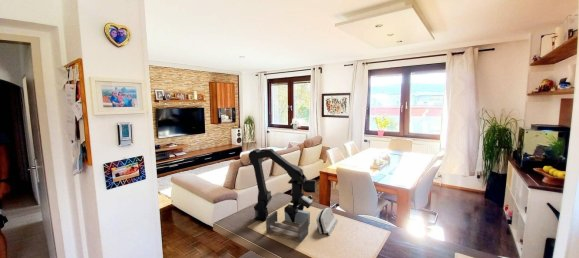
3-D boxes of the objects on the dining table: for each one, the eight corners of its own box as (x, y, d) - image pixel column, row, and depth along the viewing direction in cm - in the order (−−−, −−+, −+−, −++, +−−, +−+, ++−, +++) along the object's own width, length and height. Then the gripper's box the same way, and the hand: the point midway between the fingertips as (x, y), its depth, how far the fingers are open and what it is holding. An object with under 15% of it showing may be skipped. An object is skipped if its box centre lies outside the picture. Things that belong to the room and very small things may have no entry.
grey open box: (266, 232, 122) (266, 217, 121) (275, 225, 130) (275, 210, 129) (300, 242, 113) (300, 226, 112) (308, 233, 121) (308, 218, 120)
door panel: (284, 220, 135) (284, 208, 134) (286, 218, 137) (286, 206, 136) (308, 226, 129) (308, 213, 128) (309, 224, 131) (309, 212, 130)
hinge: (329, 236, 119) (323, 216, 119) (320, 237, 121) (314, 217, 121) (338, 221, 134) (332, 203, 134) (330, 222, 136) (324, 205, 136)
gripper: (303, 200, 119) (303, 230, 121) (317, 188, 135) (317, 215, 137) (283, 196, 124) (283, 225, 126) (299, 185, 141) (299, 211, 142)
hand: (297, 218), depth 133 cm, fingers open, 9 cm apart
